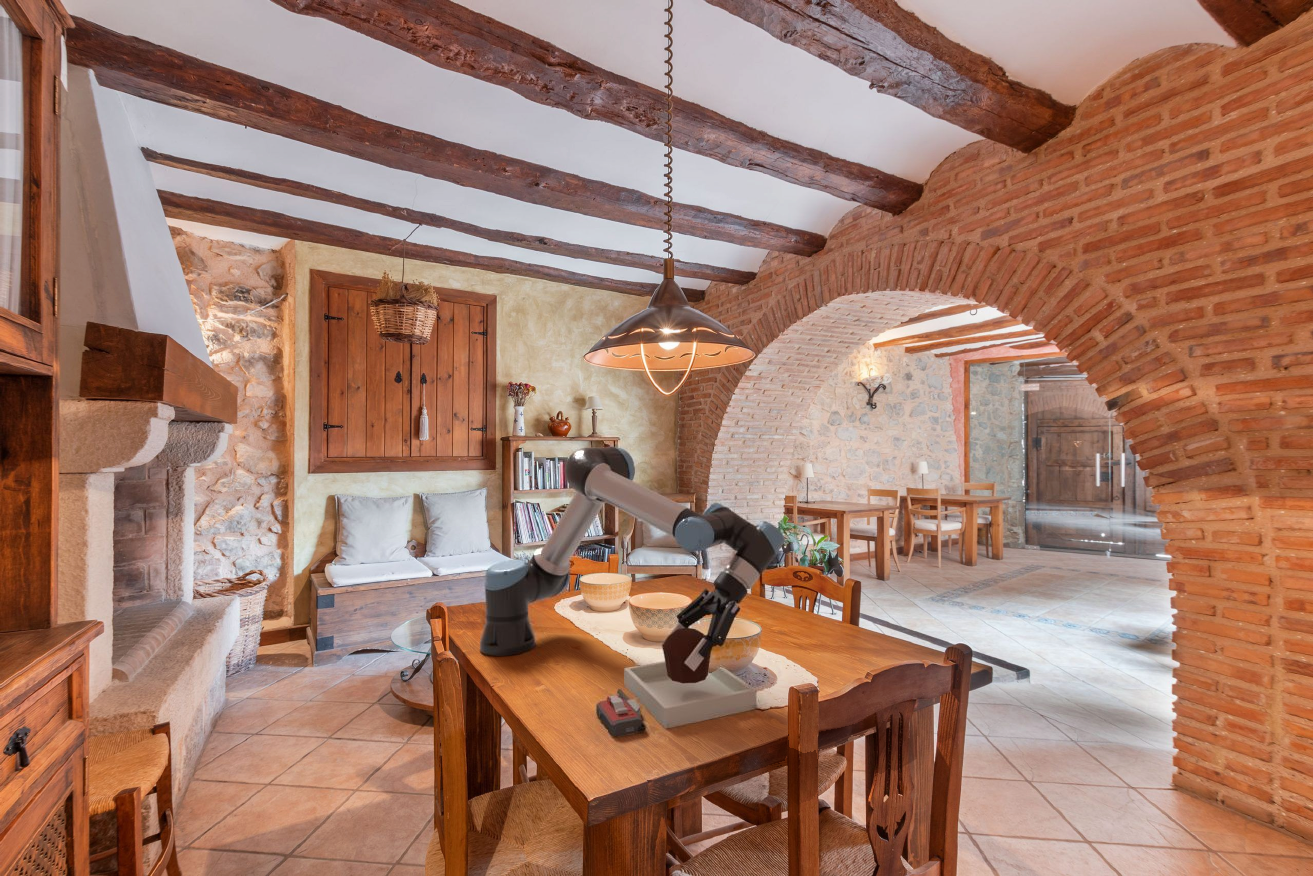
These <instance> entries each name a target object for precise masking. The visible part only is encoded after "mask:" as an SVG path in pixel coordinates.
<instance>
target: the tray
mask: <svg viewBox="0 0 1313 876" xmlns="http://www.w3.org/2000/svg"><path fill="white" fill-rule="evenodd" d="M722 667H723V666H722ZM722 667H720V668H719V667H718V669H717V670H716V671H714V672H712V673H709V672H708V676H707V677H706V679H705V680H703V681H700V682H697V683H680V682H675V681H672V680H671V679H670V678H669V677H668V674H667V669H666V663H665V660H662V661H658V662H653V663H647V664H642V665H641V664H640V665H635V666H629V667H624V668H623V670H624V671H623V675H624V676H623V677H624V678H623V679H624V683H623V684H624V687H625V688H626V689H627V690H628V691H629V692H630V693H631V694H632V695H633V696H634V697H635V698H636V699H637V700H638V701H639V703H640V704H641V705H643V707H644V708H645V709H646V710H647V711H648V712H649V714H650V715H652V716H653V717H654V718H655V719H656V720H657V721H658V722H659V724H660V725H662V727H663V728H664V729H671V728H676V727H680V726H685V725H690V724H694V723H699V722H703V721H707V720H708V721H709V720H712V719H717V718H721V717H725V716H731V715H734V714H739V713H743V712H749V711H752V710H753V711H754V710H757V708H758V706H757V705H758V704H757V703H758V702H757V701H758V700H757V689H756V688H754V687H753V686H752V685H750V684H749V683H747V682H745V681H744V680H743V679H742V678H740V677H738V676H737V675H736V674H734V673H732V672H730V671H729V670H728V669H726V668H725V667H723V668H722Z"/></svg>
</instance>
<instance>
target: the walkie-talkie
mask: <svg viewBox="0 0 1313 876" xmlns="http://www.w3.org/2000/svg"><path fill="white" fill-rule="evenodd" d="M595 705H596V707H595V708H596V709H595V714H596V716H597V718H598V720H599V721H600V720H601V721H600V723H602V726H603V727H604V729H607V730H608V731H607V730H606V731H607V733H608V734H609V733H610V734H609V735H611V736H615V737H614V738H618V737H617V736H620V737H623V735H625V736H629V735H628V734H630V735H634V734H639V733H641V732H645V731H646V730H647V727H646V725H645V723H644V722H643V718H642V717H641V715H642V713H641V712H642V710H641V708H642V707H641V706H640V704H639V703H638V702H637V700H636V699H631V698H629V697H628V695H626V693H625V692H624V691H623V690H622V689H621V688H618V689H617V694H615V695H610V696H606V700H601V701H599V702H597V704H595ZM633 733H634V734H633ZM611 736H610V737H611Z"/></svg>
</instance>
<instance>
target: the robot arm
mask: <svg viewBox="0 0 1313 876" xmlns="http://www.w3.org/2000/svg"><path fill="white" fill-rule="evenodd" d="M564 465H565V466H564V475H565V479H566V482H567V484H568V485H569V486H570V487H571V489H573V490H575V493H574V495H572V498H571V500H570V502H569V503H568V505H567V506H566V508H565V510H564V512H563V514H562V515H561V516H560V519H559V520H558V522H557V524H556V526H555V527H554V529H553V531H552V532H551V534H550V536H549V537H548V539H547V541H546V543H545V544H544V546H543V547H542V546H541V547H539V548H537V549H536V550H535V552H534V553H533V555H532V557H531V558H530V560H529V561H527V562H526V561H525V560H523V559H522V560H521V559H511V560H507V561H506V560H505V561H501V562H497V563H495V564H493V565H491V566H490V567H489V568H487V569H486V571H485V581H484V590H485V624H484V626H483V630H482V634H481V636H480V640H479V651H480V652H481V653H482V654H484V655H488V656H493V657H494V656H496V657H501V656H502V657H503V656H504V657H505V656H514V655H520V654H523V653H526V652H528V651H530V650H532V649H533V648H535V646H536V636H535V631H534V629H533V626H532V624H531V621H530V619H529V604H533V603H536V602H540V601H542V600H546V599H551V598H554V597H556V596H558V595H559V594H562V593H563V592H564V591H565V590H566V589H567V588H568V586H569V583H570V581H571V576H570V574H571V563H570V561H571V559H572V557H573V555H574V554H575V552H576V551H577V549H578V548H579V545H580V544H581V542H582V541H583V539H584V538H585V535H587V533H588V530H589V529H590V528H591V526H592V524H593V522H594V520H595V519H596V518H597V516H598V514H599V513H600V511H601V509H602V508H603V506H604V505H605V504H609V505H611V506H613V507H614V508H617V509H618V510H620V511H623V512H624V513H626V514H628V515H630V516H631V517H634V518H635V519H637V520H640V521H641V522H643V523H646V524H648V525H649V526H652V527H653V528H655V529H658V530H659V531H661V532H663V533H665V534H667V535H668V536H670V537H673V538H675V541H676V543H677V544H678V545H679V547H680V548H681V549H682V550H684V551H686V552H690V553H693V552H695V553H696V552H702V551H705V550H707V549H709V548H712V547H715V546H719V545H721V544H725V545H727V546H728V547H729V548H730V549H732V550H734V551H735V552H736V553H735V554H734V555H733V556H732V557H731V558H730V560H729V562H727V564H726V565H725V566H724V568H723V570H724V571H721V572H720V573H719V574H718V575H717V577H716V578H715V579H714V581H713V587H714V589H713V591H711V592H710V591H709V590H708V589H707V588H705V589H703V591H702V592H701V593H700V594H699V595H698V596H697V597H696V598H695V599H694V600H692V602H690V603H689V604H688V605H687V606H686V607H685V608H684V609H683V610H681V611H680V612H679V613H678V614H677V615H676V618H677V624H676V625H675V626H674V628H673V629H672V631H671V632H670V633H669V635H670V634H672V633H673V632H674V631H676V630H678V629H681V628H690V627H691V626H692V625H694V624H695V623H697V622H698V621H700V620H701V619H703V618H704V617H706V616H711V618H710V621H709V627H708V630H707V634H704V635H705V636H704V638H705V639H704V638H702V640H701V641H700V642H699V644H698V645H697V646H696V648H695V649H694V650H693V652H692V653H691V654H690V656H689V657H688V658H687V660H686V661H685V662H684V663H685V664H686V665H687V666H689V667H690V668H691V669H692V670H693V671H695V670H696V668H697V667H698V666H699V664H700V663H701V662H702V660H703V659H704V658H705V657H706V656H707V654H708V653H709V652H710V650H711V649H712V650H713V648H714V647H716V646H719V647H723V645H724V644H725V641H726V639H727V637H728V635H729V632H730V630H731V627H732V625H733V623H734V620H735V618H736V616H737V615H738V613H739V612H740V611H741V607H740V606H738V605H739V604H740V603H741V602H742V601H743V600H744V598H745V596H747V594H748V590H751V589H752V587H753V586H754V585H755V583H756V582H757V581H758V579H759V578H760V577H761V575H762V573H763V572H764V571H766V569H767V567H768V566H769V565H770V564H771V562H772V561H773V560H774V558H775V557H776V556H777V555H778V553H779V551H780V550H781V548H782V546H783V545H784V543H785V541H786V540H785V536H784V534H783V532H782V531H781V530H780V529H779V528H778V527H777V526H775V525H774V524H773V523H771V522H767V521H766V520H761V521H759V522H758V523H757V524H756V525H755V524H753V523H751V522H749V521H748V520H746V519H745V518H743V517H742V516H740V515H739V514H737V513H735V511H733V510H731V509H730V508H729V507H728V506H725V505H723V504H721V503H719V502H713V503H711V504H710V505H708V506H707V507H706V508H705V510H704V511H703V513H700V512H697V511H695V510H693V509H691V508H689V507H687V506H685V505H683V504H680V503H679V502H677V501H674V500H672V499H671V498H668V497H667V496H665V495H663V494H661V493H659V492H656V491H654V490H652V489H649V488H647V487H645V486H643V485H641V484H640V483H637V482H635V481H633V480H634V479H635V474H636V467H635V462H634V459H633V457H632V455H630V453H629V452H628V451H627V450H625V449H624V448H621V447H615V446H611V445H610V446H607V447H583V448H579V449H577V450H575V451H574V452H573V453H571V454H570V455H569V456H568V458H567V460H566V462H565V464H564ZM666 639H667V637H666V638H665V640H666ZM706 639H707V640H706ZM665 640H664V641H663V642H662V644H663V643H664V642H665ZM662 644H661V645H660V646H661V647H662Z"/></svg>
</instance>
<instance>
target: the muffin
mask: <svg viewBox="0 0 1313 876" xmlns="http://www.w3.org/2000/svg"><path fill="white" fill-rule="evenodd" d="M705 635H706V634H704V633H703V632H701V631H699V629H698V630H697V629H696V628H693V627H689V628H681V629H678V630H676V631H674V632H673V633H672V634H670V633H669V634H668V636H667V637H666V638H667V639H666V638H665V640H664V641H665V642H664V641H663V642H664V643H663V642H662V643H661V645H662V646H661V647H662V648H661V649H662V652H663V657H664V661H665V663H666V669H667V674H668V677H669V678H670V679H671V680H672V681H675V682H680V683H697V682H700V681H703V680H705V679H706V677H707V676H708V671H709V663H710V659H711V656H712V655H711V654H712V650H713V648H712V649H711V650H710V652H709V653H708V654H707V656H706V657H705V658H704V659H703V660H702V662H701V663H700V664H699V666H698V667H697V668H696V670H695V671H693V670H692V669H691V668H690V667H689V666H687V665H686V664H685V663H684V662H685V661H686V660H687V658H688V657H689V656H690V654H691V653H692V652H693V650H694V649H695V648H696V646H697V645H698V644H699V642H700V641H701V640H702V638H704V636H705ZM704 639H705V638H704ZM706 640H707V639H706Z"/></svg>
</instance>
